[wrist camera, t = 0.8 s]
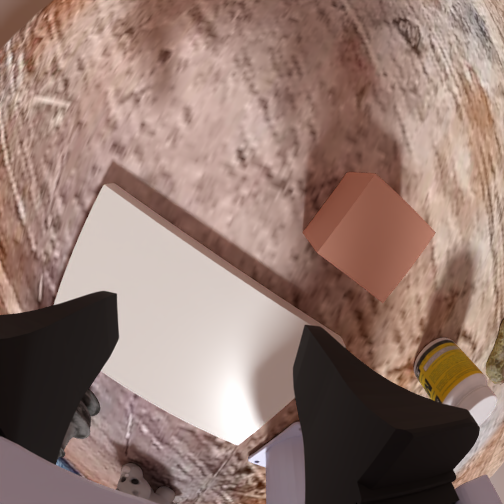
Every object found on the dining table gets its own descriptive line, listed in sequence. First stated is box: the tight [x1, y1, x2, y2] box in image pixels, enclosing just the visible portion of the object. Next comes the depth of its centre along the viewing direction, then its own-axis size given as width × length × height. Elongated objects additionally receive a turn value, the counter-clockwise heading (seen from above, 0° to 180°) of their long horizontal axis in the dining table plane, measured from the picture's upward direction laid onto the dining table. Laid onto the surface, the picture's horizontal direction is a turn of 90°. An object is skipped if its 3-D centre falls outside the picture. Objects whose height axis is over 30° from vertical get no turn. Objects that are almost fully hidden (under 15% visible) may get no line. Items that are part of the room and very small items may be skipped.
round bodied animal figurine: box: [116, 463, 177, 504], centre depth 25 cm, size 7×12×8 cm, turn 12°
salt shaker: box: [57, 389, 100, 459], centre depth 19 cm, size 6×6×12 cm
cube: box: [303, 172, 435, 303], centre depth 17 cm, size 5×5×5 cm
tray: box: [54, 183, 346, 445], centre depth 21 cm, size 20×14×2 cm
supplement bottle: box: [414, 338, 497, 426], centre depth 18 cm, size 5×5×8 cm
